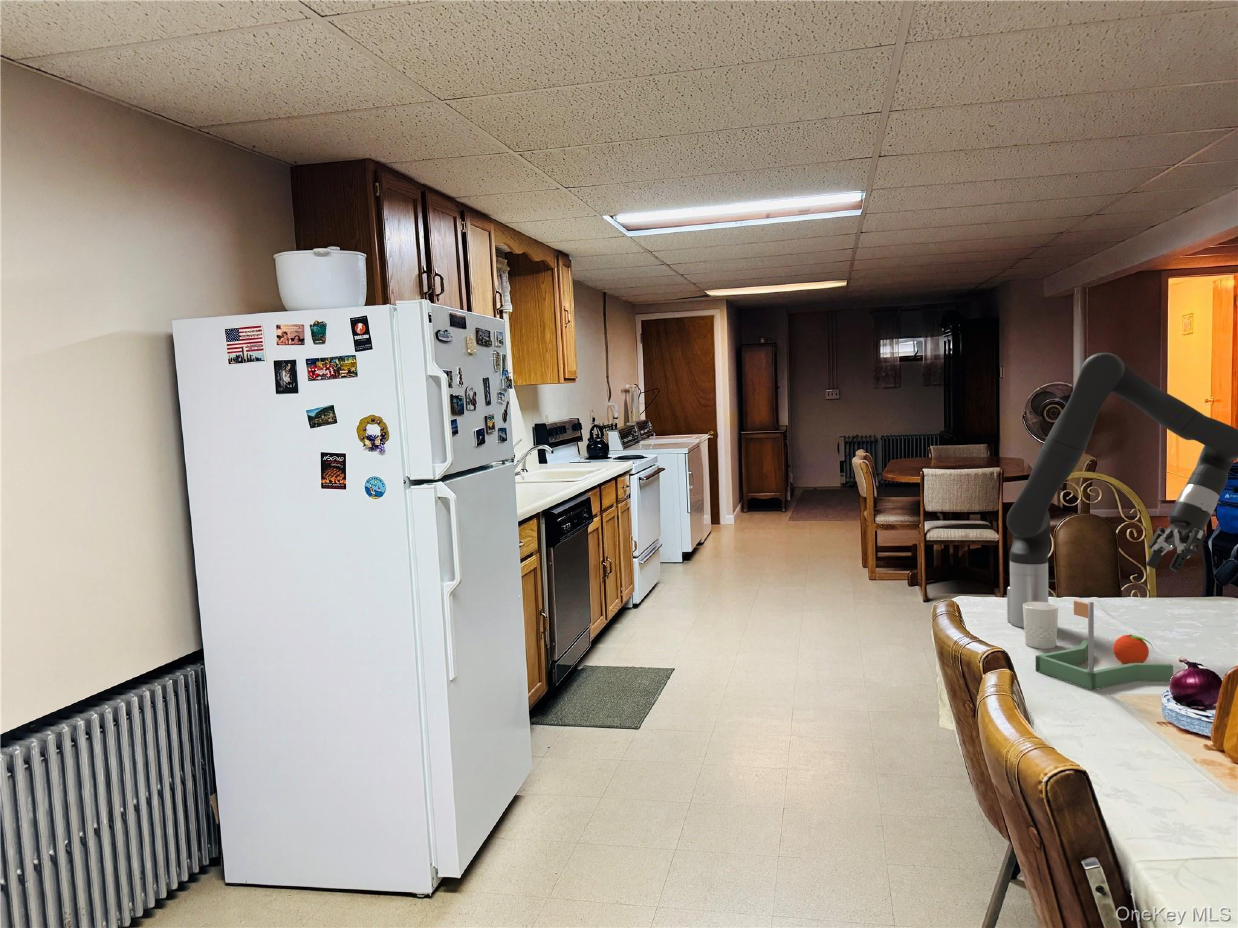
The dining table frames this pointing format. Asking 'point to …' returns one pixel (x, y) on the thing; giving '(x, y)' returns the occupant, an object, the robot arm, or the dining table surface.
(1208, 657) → the dining table surface
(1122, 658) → the clementine
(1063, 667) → the putting stall
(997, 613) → the dining table surface
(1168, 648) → the dining table surface
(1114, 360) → the robot arm
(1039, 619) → the white cup
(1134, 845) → the dining table surface
